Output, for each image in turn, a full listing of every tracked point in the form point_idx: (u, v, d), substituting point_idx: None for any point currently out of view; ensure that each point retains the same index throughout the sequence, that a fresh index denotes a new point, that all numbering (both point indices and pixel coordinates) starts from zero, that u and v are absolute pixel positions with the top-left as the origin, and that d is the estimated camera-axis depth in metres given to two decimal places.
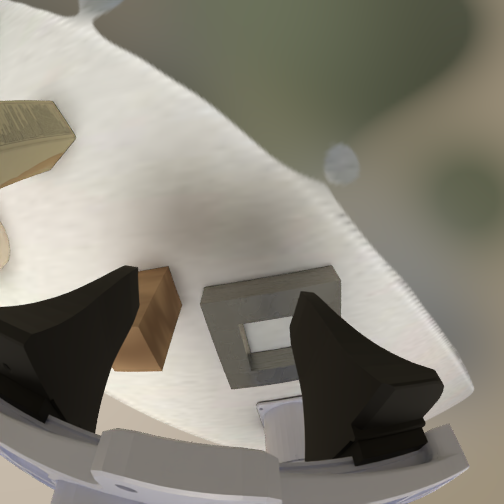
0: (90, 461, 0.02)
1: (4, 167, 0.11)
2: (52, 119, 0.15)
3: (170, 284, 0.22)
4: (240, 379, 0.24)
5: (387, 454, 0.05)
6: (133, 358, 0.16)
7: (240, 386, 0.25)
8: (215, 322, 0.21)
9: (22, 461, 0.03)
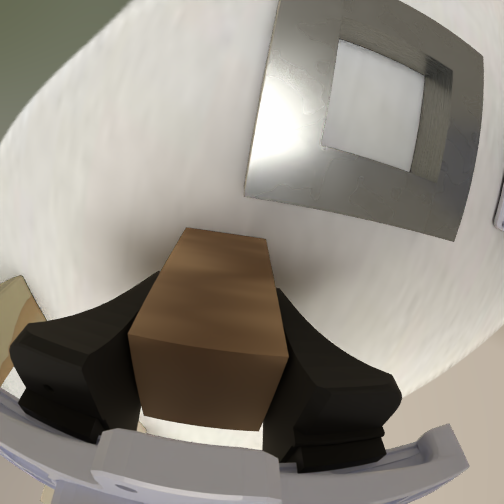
0: (90, 461, 0.02)
1: None
2: None
3: (210, 236, 0.13)
4: (444, 213, 0.11)
5: (334, 464, 0.05)
6: (228, 391, 0.07)
7: (456, 222, 0.11)
8: (298, 186, 0.10)
9: (22, 461, 0.03)
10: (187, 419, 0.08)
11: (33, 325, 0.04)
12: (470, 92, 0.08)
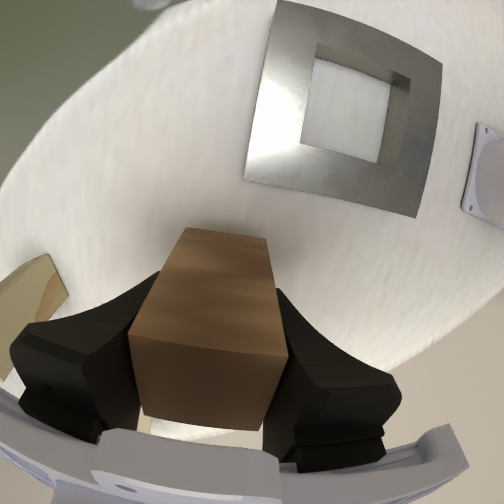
0: (90, 461, 0.02)
1: (4, 322, 0.11)
2: (21, 268, 0.16)
3: (210, 236, 0.13)
4: (403, 194, 0.14)
5: (334, 464, 0.05)
6: (227, 391, 0.07)
7: (416, 202, 0.14)
8: (282, 173, 0.14)
9: (22, 461, 0.03)
10: (186, 419, 0.08)
11: (33, 325, 0.04)
12: (426, 95, 0.12)
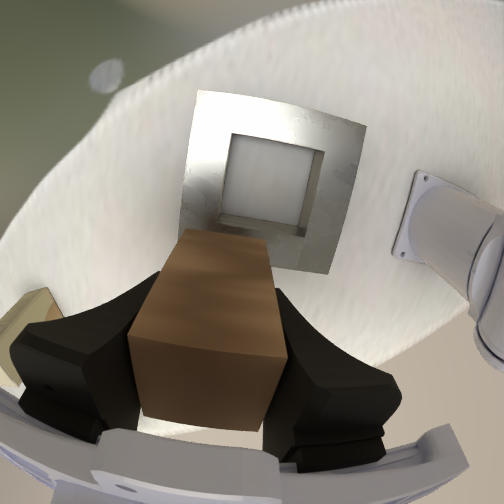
0: (90, 461, 0.02)
1: None
2: (27, 298, 0.21)
3: (209, 237, 0.13)
4: (314, 256, 0.19)
5: (334, 464, 0.05)
6: (227, 392, 0.07)
7: (327, 261, 0.19)
8: None
9: (22, 461, 0.03)
10: (186, 419, 0.08)
11: (33, 325, 0.04)
12: (342, 164, 0.16)
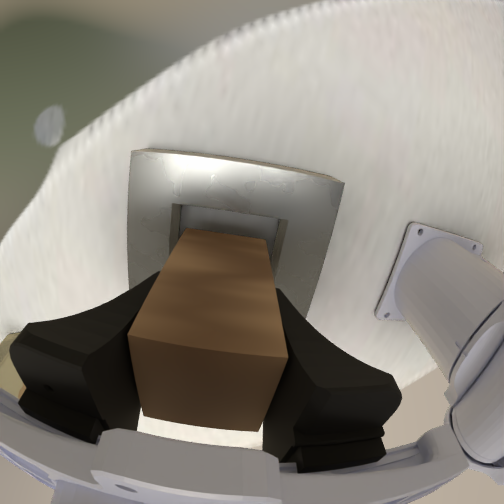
0: (90, 461, 0.02)
1: None
2: (8, 342, 0.19)
3: (210, 237, 0.13)
4: None
5: (334, 464, 0.05)
6: (227, 392, 0.07)
7: None
8: None
9: (22, 461, 0.03)
10: (186, 419, 0.08)
11: (33, 325, 0.04)
12: (311, 234, 0.14)
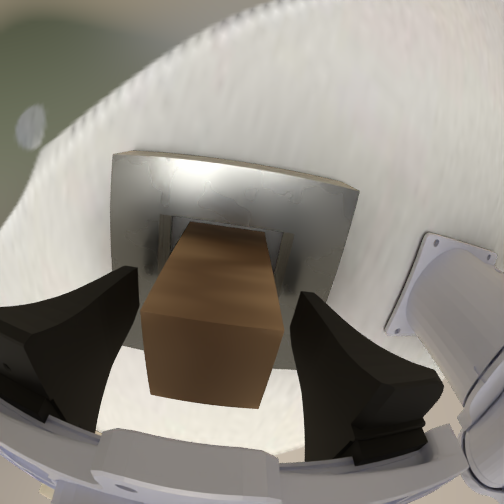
0: (90, 461, 0.02)
1: None
2: None
3: (212, 230, 0.14)
4: (281, 354, 0.15)
5: (387, 454, 0.05)
6: (229, 366, 0.08)
7: None
8: None
9: (22, 461, 0.03)
10: (191, 396, 0.08)
11: None
12: (320, 249, 0.12)
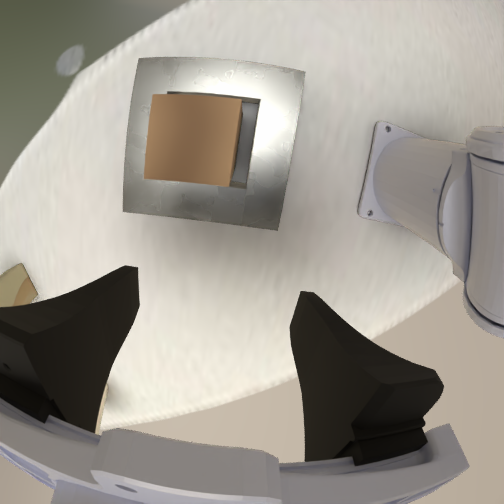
0: (90, 461, 0.02)
1: None
2: (3, 274, 0.20)
3: None
4: (259, 210, 0.18)
5: (387, 454, 0.05)
6: (206, 132, 0.11)
7: (275, 215, 0.18)
8: (148, 204, 0.17)
9: (22, 461, 0.03)
10: (175, 173, 0.12)
11: None
12: (281, 110, 0.15)
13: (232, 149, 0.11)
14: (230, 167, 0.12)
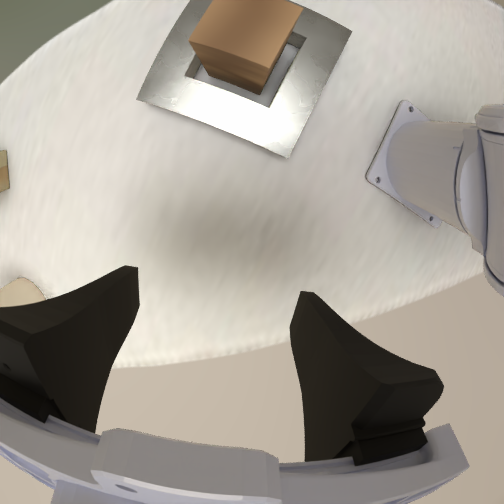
0: (90, 461, 0.02)
1: None
2: None
3: None
4: (275, 132, 0.16)
5: (387, 454, 0.05)
6: (263, 20, 0.09)
7: (290, 143, 0.16)
8: (165, 97, 0.15)
9: (22, 461, 0.03)
10: (222, 42, 0.09)
11: None
12: (322, 52, 0.14)
13: (283, 39, 0.09)
14: (276, 53, 0.10)
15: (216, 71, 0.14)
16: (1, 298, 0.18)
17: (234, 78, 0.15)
